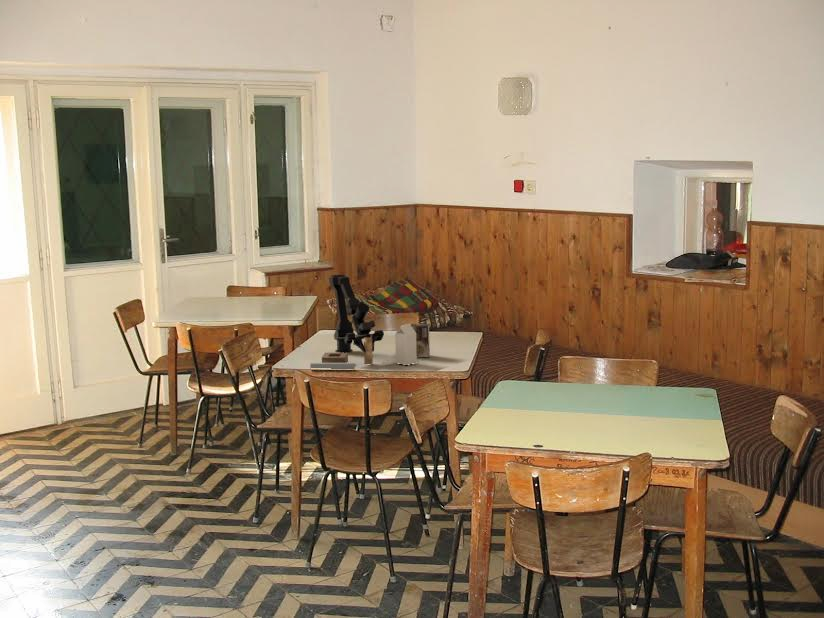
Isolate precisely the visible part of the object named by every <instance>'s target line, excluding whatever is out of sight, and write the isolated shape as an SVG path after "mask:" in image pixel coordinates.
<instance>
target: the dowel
mask: <svg viewBox="0 0 824 618" xmlns="http://www.w3.org/2000/svg"><path fill="white" fill-rule="evenodd" d="M363 345H364V347H365V351H366V352H365V353H364V352H363V361H364V362H363V364H372V363H373V361H374V360H373V351H372V337H364V339H363ZM373 364H374V363H373Z"/></svg>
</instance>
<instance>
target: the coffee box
mask: <svg viewBox="0 0 824 618" xmlns="http://www.w3.org/2000/svg"><path fill="white" fill-rule="evenodd" d="M410 324H411V327H412V328H413V329H414V331H415V332H416V355H417V357H429V358H430V356H431V353H430V349H431V348H430V324H429V323H410Z"/></svg>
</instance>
